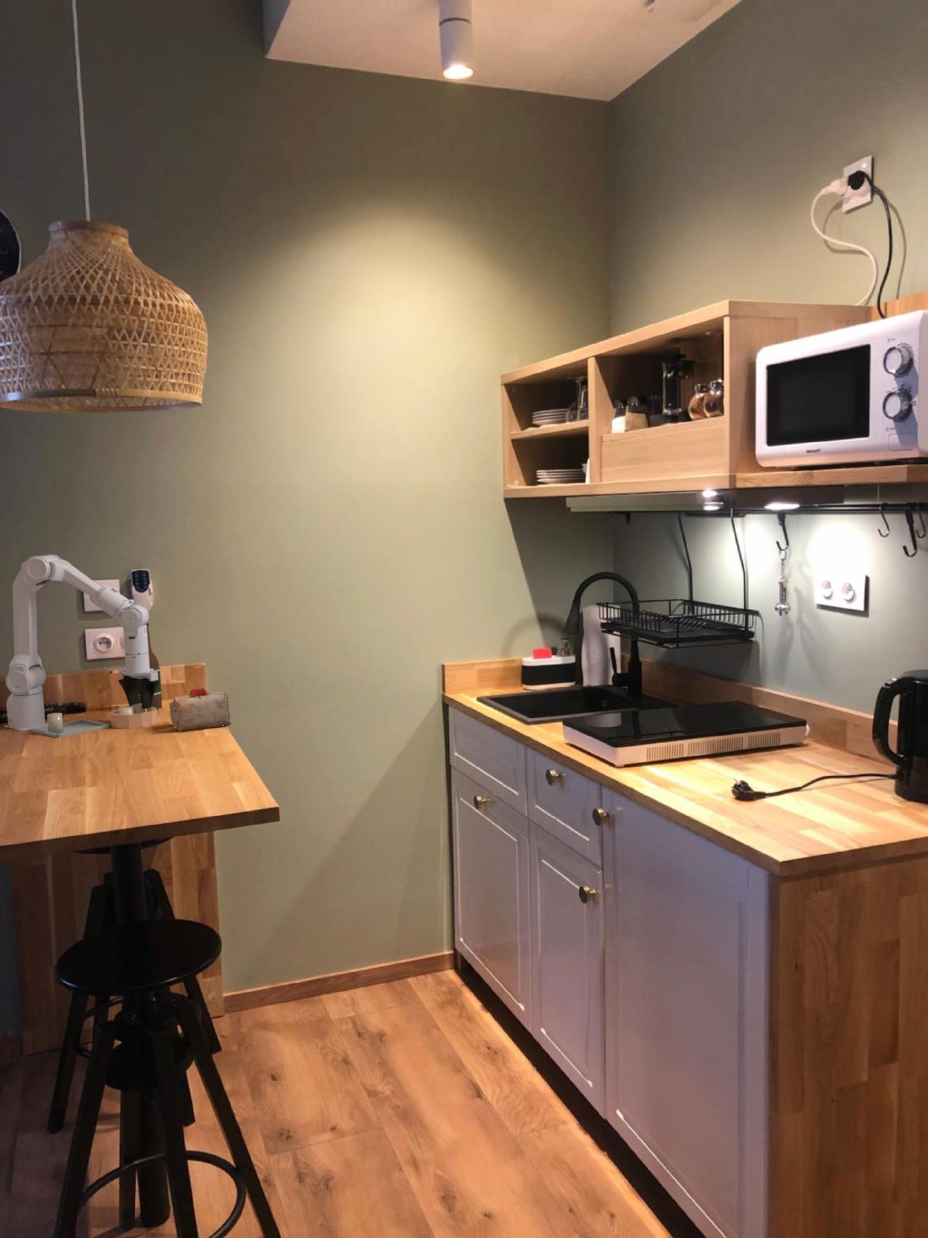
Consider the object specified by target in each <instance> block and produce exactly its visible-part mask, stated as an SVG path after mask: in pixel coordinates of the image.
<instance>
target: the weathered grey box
mask: <svg viewBox="0 0 928 1238" xmlns="http://www.w3.org/2000/svg"><path fill="white" fill-rule="evenodd" d="M228 700H229V695H228V694H227V693H226V692H224V691H223V690H219V691H211V692H209V691H207V690H205V688H203V687H202V688H199V686H196V687H195V688H193V689H191V690H190V691H189V694H186V695H185V694H184V695H180V696H174V697H173V700H172V701H170V702H169V715H170V721H171V723H172V726H173V727H174V728H175V729H176V730H177V731H178V732H180V733H181V732H182V733H183V732H184V733H185V732H191V731H196V730H206V729H205V728H207V729H213V728H215V727H216V728H223V727H222V726H223V725H224V727H230V726H231V725H232V722H231V721H230V720H231V719H230V718H231V715H230V709H229V706H230V705H229V701H228Z"/></svg>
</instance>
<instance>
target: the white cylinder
mask: <svg viewBox="0 0 928 1238" xmlns="http://www.w3.org/2000/svg"><path fill="white" fill-rule="evenodd" d="M46 718H47V719H46V720H47V723H48V732H52V733H56V734H58V733H62V732H63V723H64V722H63V721H64V720H63V713H61V712H51V713H48V714H46Z"/></svg>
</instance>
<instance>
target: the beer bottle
mask: <svg viewBox="0 0 928 1238" xmlns="http://www.w3.org/2000/svg"><path fill="white" fill-rule="evenodd" d="M145 625H147V636H148V650H149V665H150V668H151V669H154V672H158V680H159V683H158V685H157V687H156V690H155V693H154V697H153V702H152V707H155V708H156V709H157V710H158V709H159V708H163V700H162V699H163V697H162V684H161V683H162V681H161V670H160V668H161V667H160V663H159V660H158V658H157V656H156V655H155V653H154V652H153V650H152V647H151V646H152V644H151V639H150V631H149V630H150V629H149V626H150V624H149V621H148V622H147V623H146V624H145ZM141 681H142V680H141ZM139 703H141V697H140V693H139ZM158 711H159V710H158Z"/></svg>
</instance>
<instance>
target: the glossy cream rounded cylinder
mask: <svg viewBox="0 0 928 1238" xmlns="http://www.w3.org/2000/svg"><path fill="white" fill-rule="evenodd" d="M132 706H133V713H134V714H138V713H144V712H147V709H143V707H142V704H141V703H138V704H133V705H132Z"/></svg>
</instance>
